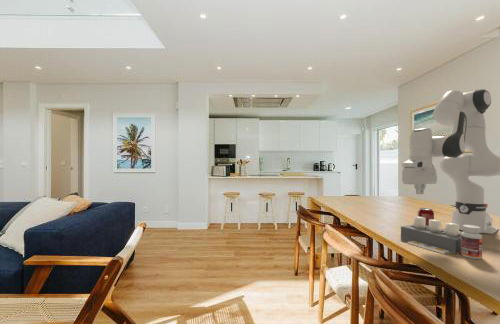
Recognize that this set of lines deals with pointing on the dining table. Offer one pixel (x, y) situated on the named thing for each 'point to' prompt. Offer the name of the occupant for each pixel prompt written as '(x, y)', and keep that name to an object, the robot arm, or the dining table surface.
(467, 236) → the pill bottle
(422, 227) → the cream oval piece
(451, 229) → the button
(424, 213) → the soda can
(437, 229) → the cream white egg
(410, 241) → the card
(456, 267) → the dining table surface
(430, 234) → the grey egg tray
